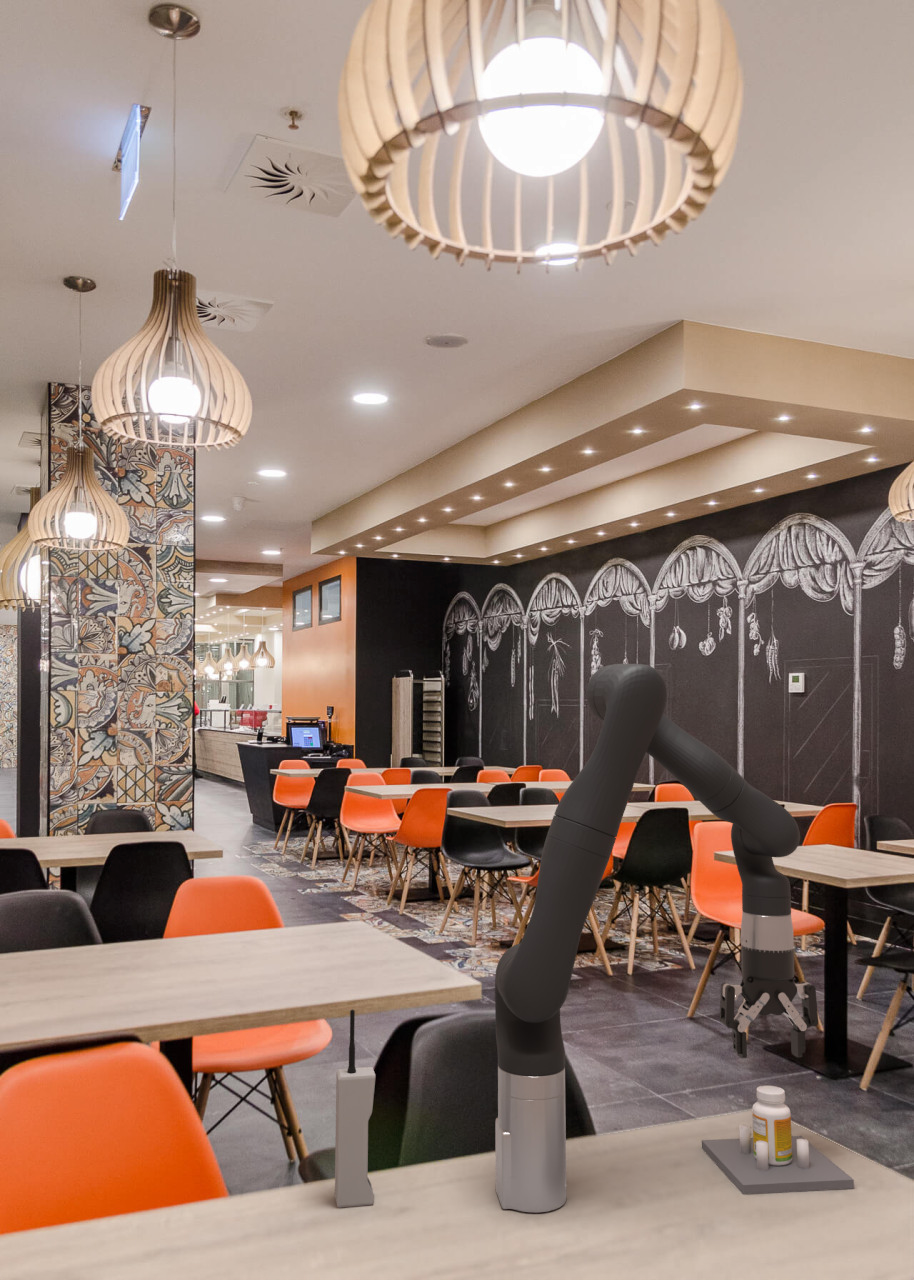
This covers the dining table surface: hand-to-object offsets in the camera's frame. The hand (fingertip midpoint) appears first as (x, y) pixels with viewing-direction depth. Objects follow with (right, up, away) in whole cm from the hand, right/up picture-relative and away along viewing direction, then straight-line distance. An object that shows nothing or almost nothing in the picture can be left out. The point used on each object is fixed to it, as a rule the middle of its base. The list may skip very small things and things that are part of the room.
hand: (769, 1056), depth 147 cm
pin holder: (0, -15, -2) cm, 16 cm away
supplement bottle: (0, -14, -2) cm, 15 cm away
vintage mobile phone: (-60, -14, -13) cm, 63 cm away
